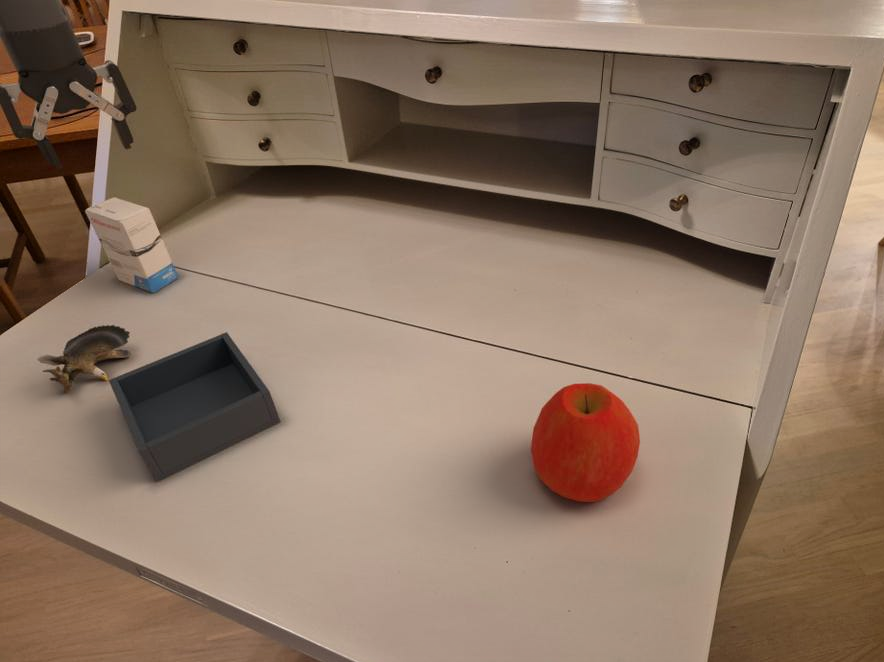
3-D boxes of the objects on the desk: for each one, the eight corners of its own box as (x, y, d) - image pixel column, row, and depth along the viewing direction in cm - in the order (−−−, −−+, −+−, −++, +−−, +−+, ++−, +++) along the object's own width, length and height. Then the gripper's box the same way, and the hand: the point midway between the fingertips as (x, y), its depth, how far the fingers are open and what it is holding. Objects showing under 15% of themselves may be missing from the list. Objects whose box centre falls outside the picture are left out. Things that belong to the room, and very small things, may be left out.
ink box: (180, 277, 96) (150, 206, 88) (153, 294, 93) (119, 222, 85) (144, 264, 100) (112, 194, 92) (117, 280, 96) (81, 209, 89)
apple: (639, 444, 66) (651, 369, 59) (626, 525, 59) (638, 449, 52) (543, 426, 69) (544, 352, 62) (519, 501, 61) (517, 426, 55)
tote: (157, 482, 66) (139, 451, 62) (126, 410, 74) (108, 379, 71) (281, 422, 71) (269, 391, 68) (238, 361, 80) (226, 331, 77)
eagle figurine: (93, 399, 74) (146, 344, 79) (37, 359, 71) (96, 303, 76) (77, 406, 79) (128, 353, 84) (25, 368, 76) (81, 316, 81)
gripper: (90, 4, 79) (142, 134, 89) (-43, 26, 73) (29, 163, 83) (103, 14, 74) (156, 150, 84) (-38, 38, 68) (38, 181, 78)
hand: (93, 156), depth 84 cm, fingers open, 8 cm apart
